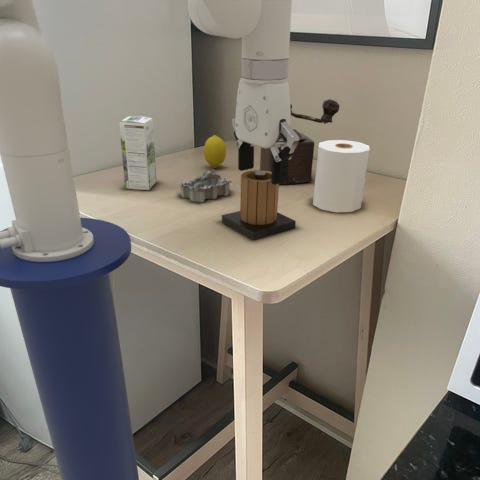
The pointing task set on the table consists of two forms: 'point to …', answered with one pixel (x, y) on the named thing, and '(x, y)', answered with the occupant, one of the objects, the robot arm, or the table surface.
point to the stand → (256, 230)
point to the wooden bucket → (258, 199)
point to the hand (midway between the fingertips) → (262, 175)
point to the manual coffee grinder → (300, 148)
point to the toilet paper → (340, 175)
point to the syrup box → (138, 152)
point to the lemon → (214, 151)
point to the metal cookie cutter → (205, 187)
